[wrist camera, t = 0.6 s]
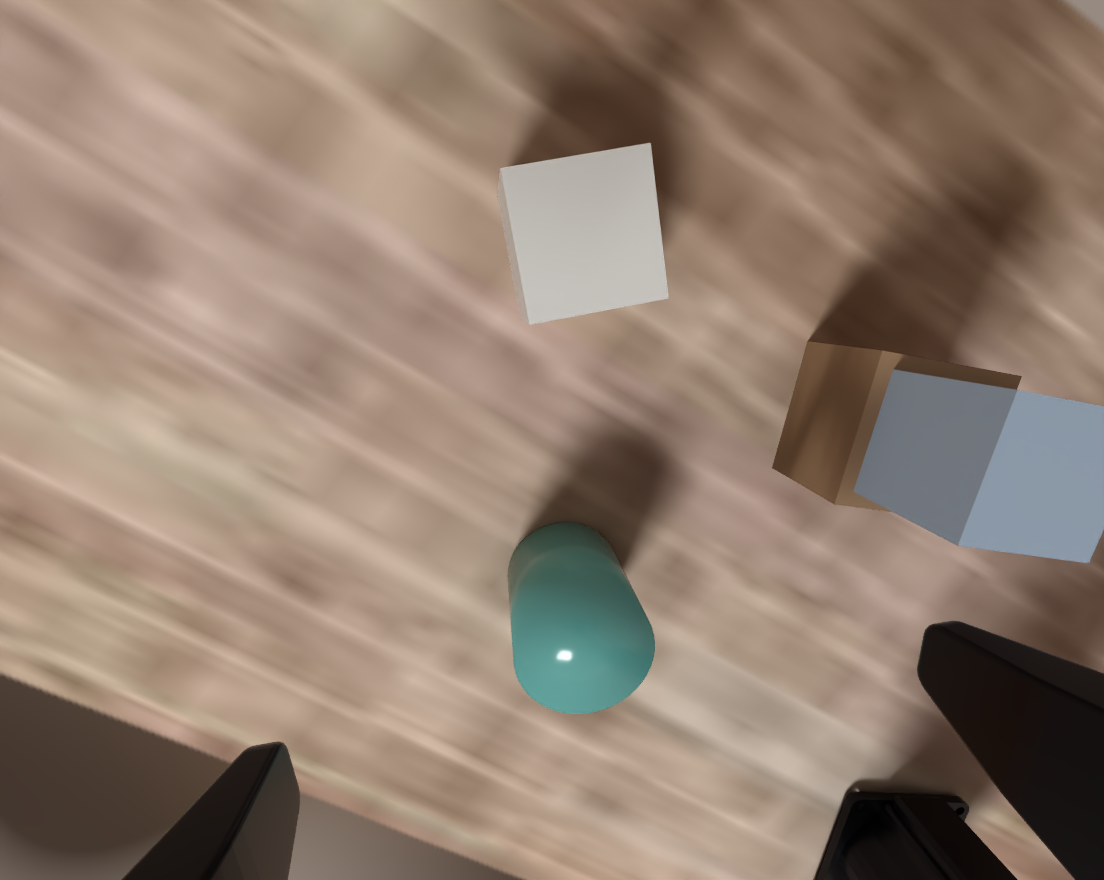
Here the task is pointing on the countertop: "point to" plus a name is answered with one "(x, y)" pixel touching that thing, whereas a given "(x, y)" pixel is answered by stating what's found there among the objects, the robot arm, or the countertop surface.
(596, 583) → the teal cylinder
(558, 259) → the cube
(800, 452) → the tower base
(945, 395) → the tower top
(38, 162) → the countertop surface
